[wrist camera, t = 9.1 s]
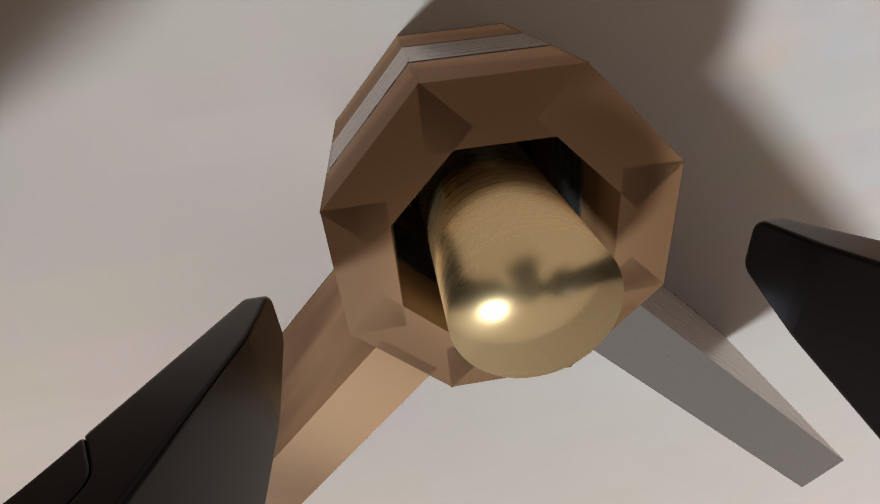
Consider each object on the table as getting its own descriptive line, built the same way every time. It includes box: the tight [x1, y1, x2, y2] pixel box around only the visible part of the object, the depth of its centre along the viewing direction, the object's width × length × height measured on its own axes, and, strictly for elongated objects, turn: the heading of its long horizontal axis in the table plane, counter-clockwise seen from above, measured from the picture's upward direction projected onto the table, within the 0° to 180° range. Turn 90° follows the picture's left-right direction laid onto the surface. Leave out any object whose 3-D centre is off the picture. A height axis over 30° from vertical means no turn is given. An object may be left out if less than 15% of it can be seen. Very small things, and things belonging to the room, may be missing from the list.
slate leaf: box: [327, 33, 843, 487], centre depth 15 cm, size 18×7×6 cm, turn 50°
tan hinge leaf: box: [265, 23, 685, 504], centre depth 14 cm, size 18×7×6 cm, turn 140°
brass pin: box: [418, 142, 624, 378], centre depth 12 cm, size 3×3×8 cm
